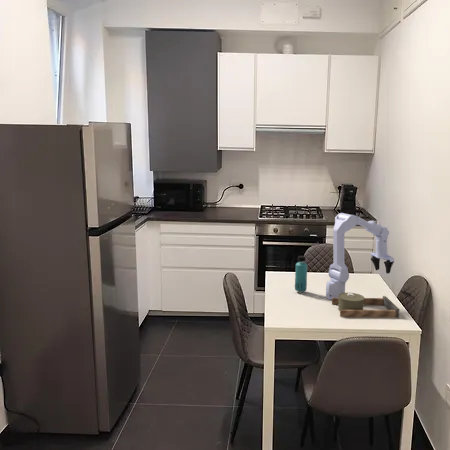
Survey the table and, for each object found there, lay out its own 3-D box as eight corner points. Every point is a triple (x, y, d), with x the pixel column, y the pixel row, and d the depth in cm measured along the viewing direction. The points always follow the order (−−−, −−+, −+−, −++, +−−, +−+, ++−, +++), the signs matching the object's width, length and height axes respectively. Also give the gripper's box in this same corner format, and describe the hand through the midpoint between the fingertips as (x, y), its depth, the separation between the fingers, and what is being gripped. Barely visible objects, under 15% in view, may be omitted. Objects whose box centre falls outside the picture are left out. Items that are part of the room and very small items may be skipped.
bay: (340, 316, 209) (341, 308, 209) (331, 303, 227) (332, 295, 226) (398, 317, 209) (399, 309, 209) (385, 303, 227) (385, 296, 226)
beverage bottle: (305, 290, 247) (306, 254, 244) (307, 294, 241) (309, 257, 237) (293, 290, 247) (294, 254, 244) (295, 294, 241) (296, 257, 237)
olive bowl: (339, 314, 213) (339, 300, 212) (336, 305, 225) (337, 292, 224) (365, 315, 212) (366, 301, 210) (361, 306, 223) (362, 293, 222)
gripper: (397, 248, 240) (398, 272, 243) (376, 243, 252) (377, 266, 255) (388, 251, 237) (389, 276, 240) (367, 246, 249) (368, 269, 252)
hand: (382, 271), depth 247 cm, fingers open, 7 cm apart
